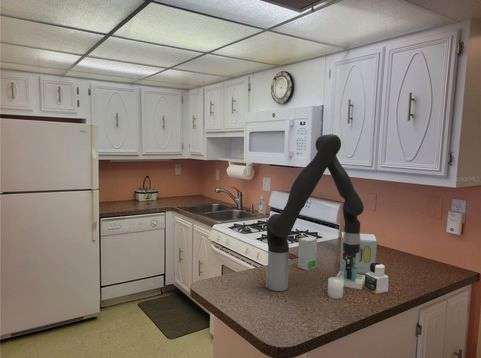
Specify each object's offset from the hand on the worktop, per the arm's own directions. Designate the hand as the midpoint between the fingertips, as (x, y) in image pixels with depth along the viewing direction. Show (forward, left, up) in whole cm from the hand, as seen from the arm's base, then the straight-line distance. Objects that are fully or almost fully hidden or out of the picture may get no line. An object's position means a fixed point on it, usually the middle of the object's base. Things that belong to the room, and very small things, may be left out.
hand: (350, 276), depth 167 cm
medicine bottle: (+12, -3, -3) cm, 13 cm away
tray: (0, 0, -3) cm, 3 cm away
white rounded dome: (-3, -18, -3) cm, 18 cm away
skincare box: (-24, +11, -3) cm, 27 cm away
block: (0, 0, -1) cm, 1 cm away
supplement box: (0, +21, -3) cm, 21 cm away
